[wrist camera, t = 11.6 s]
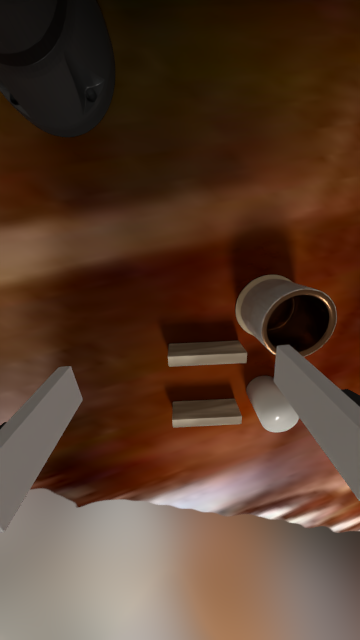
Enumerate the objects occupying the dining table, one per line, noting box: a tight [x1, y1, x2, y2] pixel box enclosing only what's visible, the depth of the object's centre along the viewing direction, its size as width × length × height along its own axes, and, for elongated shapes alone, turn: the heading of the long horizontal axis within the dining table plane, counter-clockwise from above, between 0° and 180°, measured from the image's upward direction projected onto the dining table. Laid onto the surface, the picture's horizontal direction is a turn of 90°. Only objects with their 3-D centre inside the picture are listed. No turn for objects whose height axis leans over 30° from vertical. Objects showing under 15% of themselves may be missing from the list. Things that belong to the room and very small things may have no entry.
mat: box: [235, 275, 292, 335], centre depth 37 cm, size 12×12×1 cm
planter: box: [241, 279, 337, 357], centre depth 32 cm, size 11×11×10 cm
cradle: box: [168, 341, 247, 427], centre depth 40 cm, size 16×14×5 cm
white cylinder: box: [246, 376, 299, 432], centre depth 40 cm, size 7×7×8 cm
